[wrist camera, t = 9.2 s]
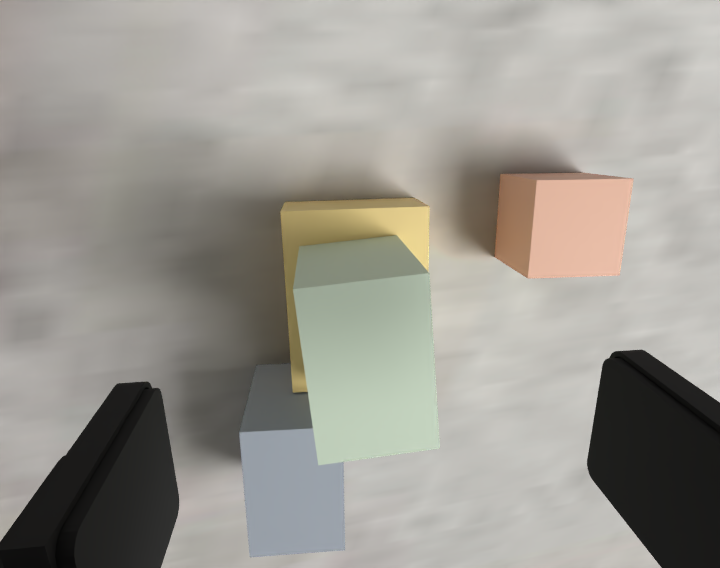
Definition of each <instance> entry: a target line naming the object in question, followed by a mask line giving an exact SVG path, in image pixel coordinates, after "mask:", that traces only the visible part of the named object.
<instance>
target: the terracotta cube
mask: <svg viewBox="0 0 720 568" xmlns="http://www.w3.org/2000/svg"><path fill="white" fill-rule="evenodd" d="M632 186H633V179H632V178H623V177H615V176H606V175H598V174H590V173H524V174H500V187H499V201H498V216H497V230H496V244H495V258H497V259H498V260H500V261H501V262H503V263H505V264H506V265H508V266H509V267H511V268H512V269H514V270H515V271H517V272H519V273H520V274H522V275H523V276H525V277H526V278H557V277H587V276H616V275H620V269H621V262H622V255H623V248H624V241H625V234H626V227H627V221H628V214H629V207H630V200H631V193H632Z"/></svg>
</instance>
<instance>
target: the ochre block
mask: <svg viewBox="0 0 720 568" xmlns="http://www.w3.org/2000/svg"><path fill="white" fill-rule="evenodd" d="M280 214H281V229H282V243H283V258H284V272H285V287H286V302H287V316H288V331H289V345H290V360H291V375H292V389H293V393H296V392H308V390H307V383H306V377H305V370H304V363H303V356H302V349H301V342H300V335H299V328H298V321H297V314H296V307H295V301H294V294H293V285H294V278H295V272H296V265H297V258H298V251H299V246H306V245H315V244H324V243H332V242H341V241H350V240H359V239H367V238H376V237H385V236H393V235H397V236H398V237H399V238H400V239H401V241H402V242H403V243H404V244H405V245H406V246H407V248H408V249H409V250H410V251H411V252H412V253H413V255H414V256H415V257H416V258H417V259H418V260H419V262H420V263H421V264H422V265H423V266H424V267H425V269H426V270H427V271H428V262H429V206H428V205H426V204H424V203H423V202H421V201H419V200H417V199H416V198H390V199H360V200H330V201H300V202H285V203H284V205H283V207H282V209H281V211H280Z"/></svg>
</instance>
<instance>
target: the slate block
mask: <svg viewBox="0 0 720 568" xmlns="http://www.w3.org/2000/svg"><path fill="white" fill-rule="evenodd" d="M239 436H240V448H241V460H242V471H243V483H244V495H245V506H246V518H247V530H248V541H249V553H250V557H261V556H274V555H287V554H300V553H314V552H327V551H340V550H345V523H344V466H343V462H339V463H332V464H325V465H318V460H317V453H316V446H315V439H314V432H313V425H312V418H311V411H310V404H309V397H308V392H296V393H293V389H292V375H291V363H288V364H265V365H256V369H255V373H254V377H253V380H252V384H251V388H250V392H249V396H248V400H247V404H246V408H245V412H244V416H243V419H242V423H241V427H240V431H239Z"/></svg>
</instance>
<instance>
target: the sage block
mask: <svg viewBox="0 0 720 568" xmlns="http://www.w3.org/2000/svg"><path fill="white" fill-rule="evenodd" d="M293 294H294V301H295V307H296V314H297V321H298V328H299V335H300V342H301V349H302V356H303V363H304V370H305V377H306V383H307V390H308V397H309V404H310V411H311V418H312V425H313V432H314V439H315V446H316V453H317V460H318V465H325V464H332V463H339V462H347V461H354V460H361V459H368V458H375V457H382V456H389V455H397V454H404V453H411V452H418V451H425V450H432V449H439V448H440V443H439V426H438V410H437V393H436V376H435V360H434V343H433V326H432V310H431V293H430V276H429V272H428V271H427V270H426V269H425V267H424V266H423V265H422V264H421V263H420V262H419V260H418V259H417V258H416V257H415V256H414V255H413V253H412V252H411V251H410V250H409V249H408V248H407V246H406V245H405V244H404V243H403V242H402V241H401V239H400V238H399V237H398V236H397V235H393V236H385V237H376V238H367V239H359V240H350V241H341V242H332V243H324V244H315V245H306V246H299V251H298V258H297V265H296V272H295V278H294V285H293Z"/></svg>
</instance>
